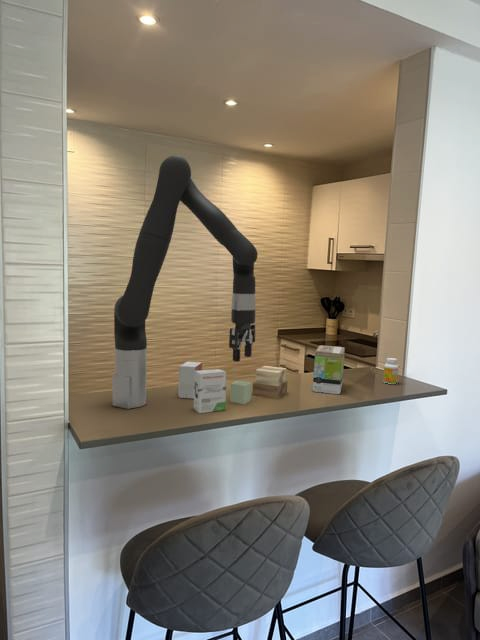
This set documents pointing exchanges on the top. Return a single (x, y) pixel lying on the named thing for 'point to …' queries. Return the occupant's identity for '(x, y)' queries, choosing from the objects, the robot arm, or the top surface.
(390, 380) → the supplement bottle
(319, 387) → the tea box
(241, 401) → the sage block
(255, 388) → the walnut block
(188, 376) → the small box
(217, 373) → the ink box
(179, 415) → the top surface
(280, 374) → the maple block
